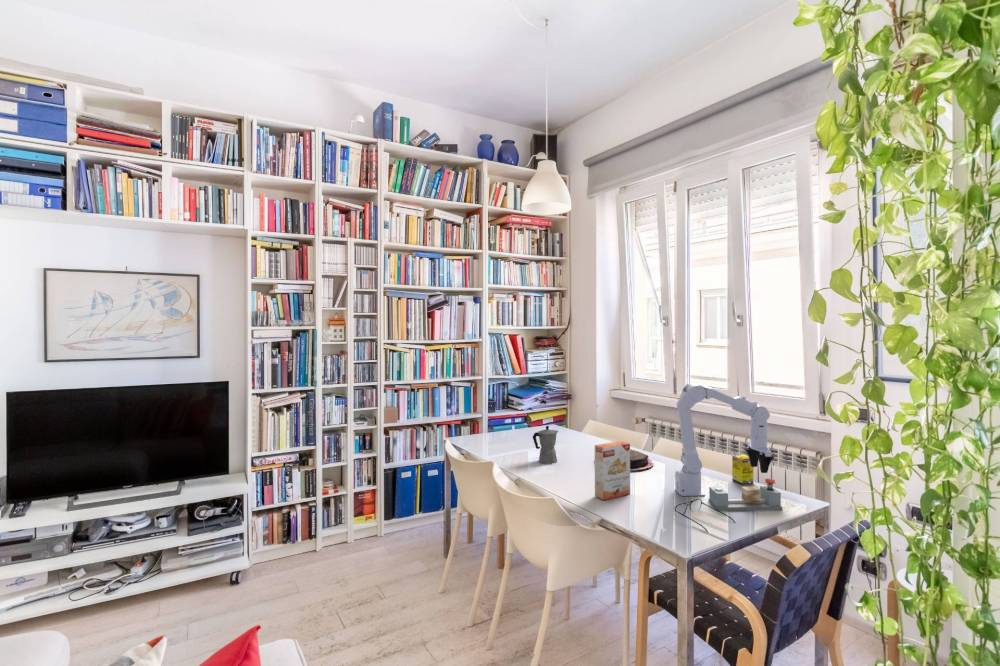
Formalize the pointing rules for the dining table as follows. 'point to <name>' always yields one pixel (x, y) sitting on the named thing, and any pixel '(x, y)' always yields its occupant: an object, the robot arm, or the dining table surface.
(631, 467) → the chocolate cake
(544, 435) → the coffeepot
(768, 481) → the gauge plunger
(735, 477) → the supplement box
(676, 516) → the glasses
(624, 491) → the cracker box
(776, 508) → the rail bench
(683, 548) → the dining table surface
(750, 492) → the carriage
